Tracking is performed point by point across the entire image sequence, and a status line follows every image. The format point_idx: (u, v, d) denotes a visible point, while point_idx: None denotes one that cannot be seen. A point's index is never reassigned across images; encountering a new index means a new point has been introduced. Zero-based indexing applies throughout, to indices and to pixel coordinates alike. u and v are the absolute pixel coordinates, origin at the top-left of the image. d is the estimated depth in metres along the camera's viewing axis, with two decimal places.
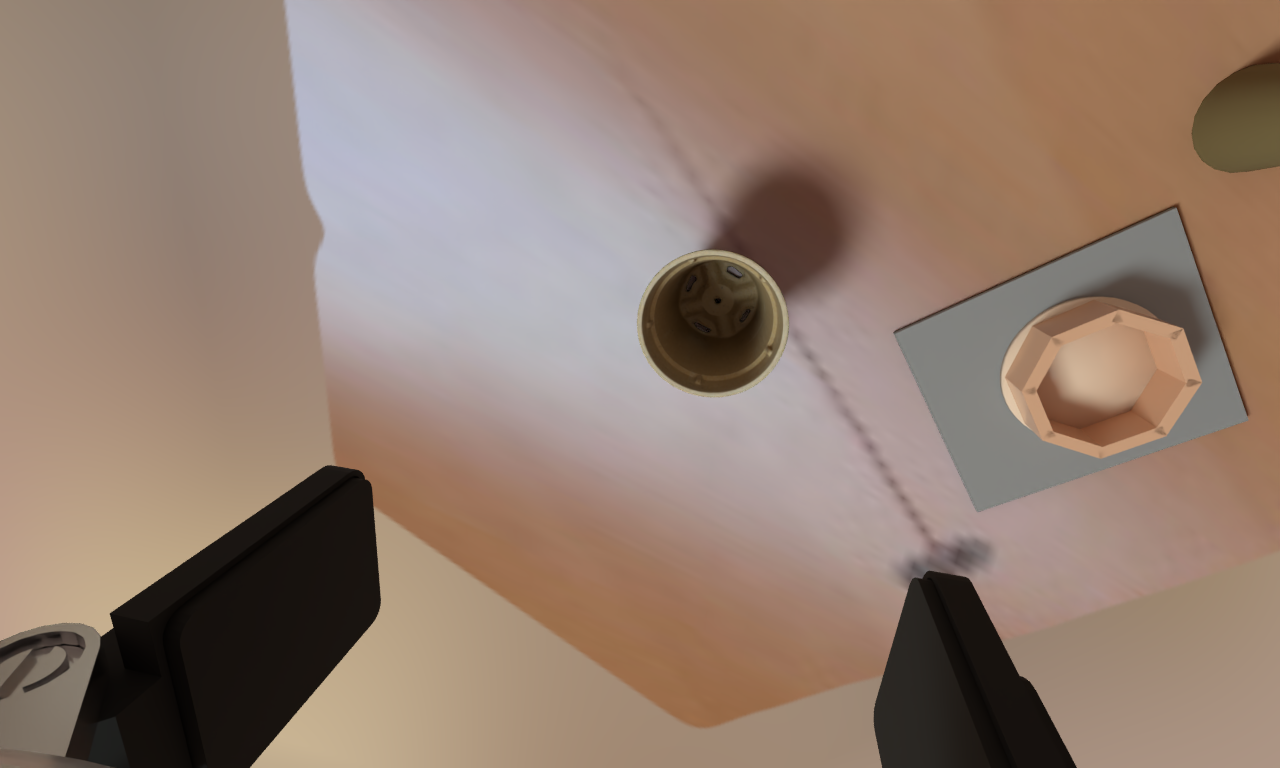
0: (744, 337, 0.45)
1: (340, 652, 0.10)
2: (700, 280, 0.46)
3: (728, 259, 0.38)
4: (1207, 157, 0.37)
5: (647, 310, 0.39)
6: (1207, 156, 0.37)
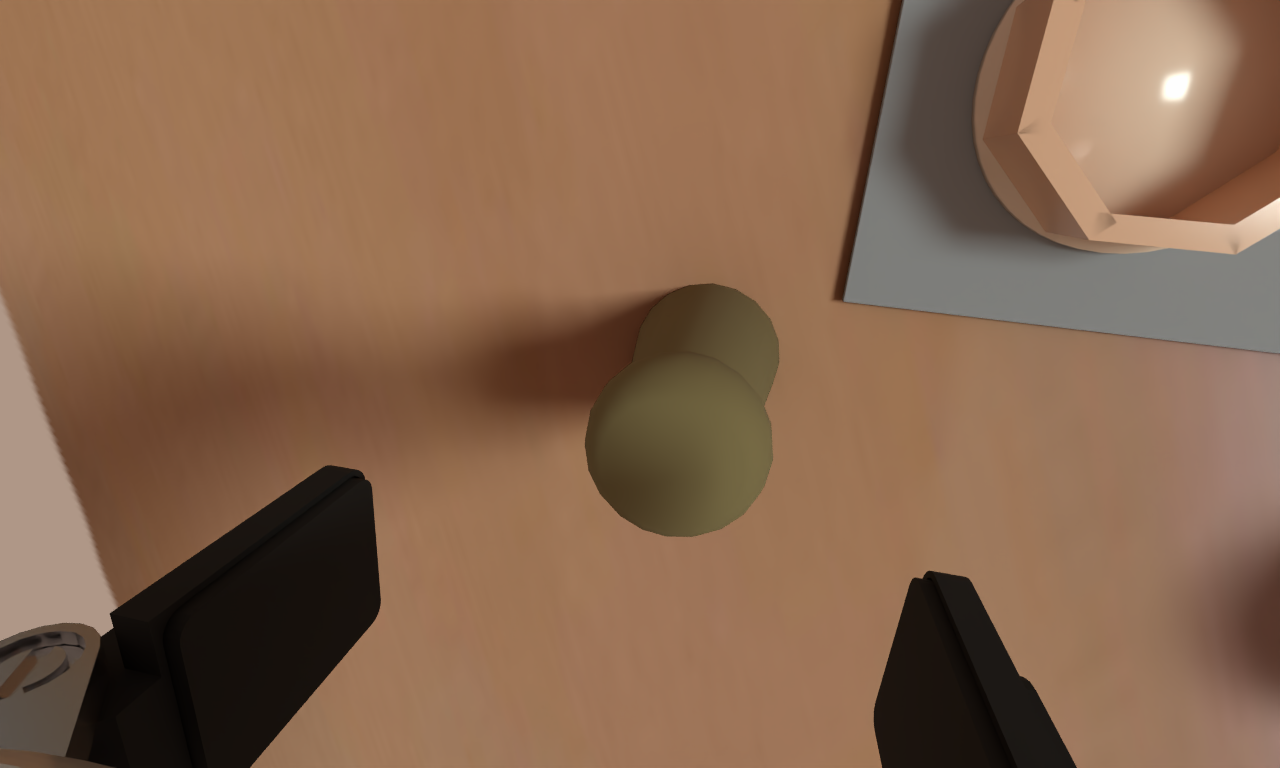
0: None
1: (340, 652, 0.10)
2: None
3: None
4: (777, 348, 0.24)
5: None
6: (777, 348, 0.24)
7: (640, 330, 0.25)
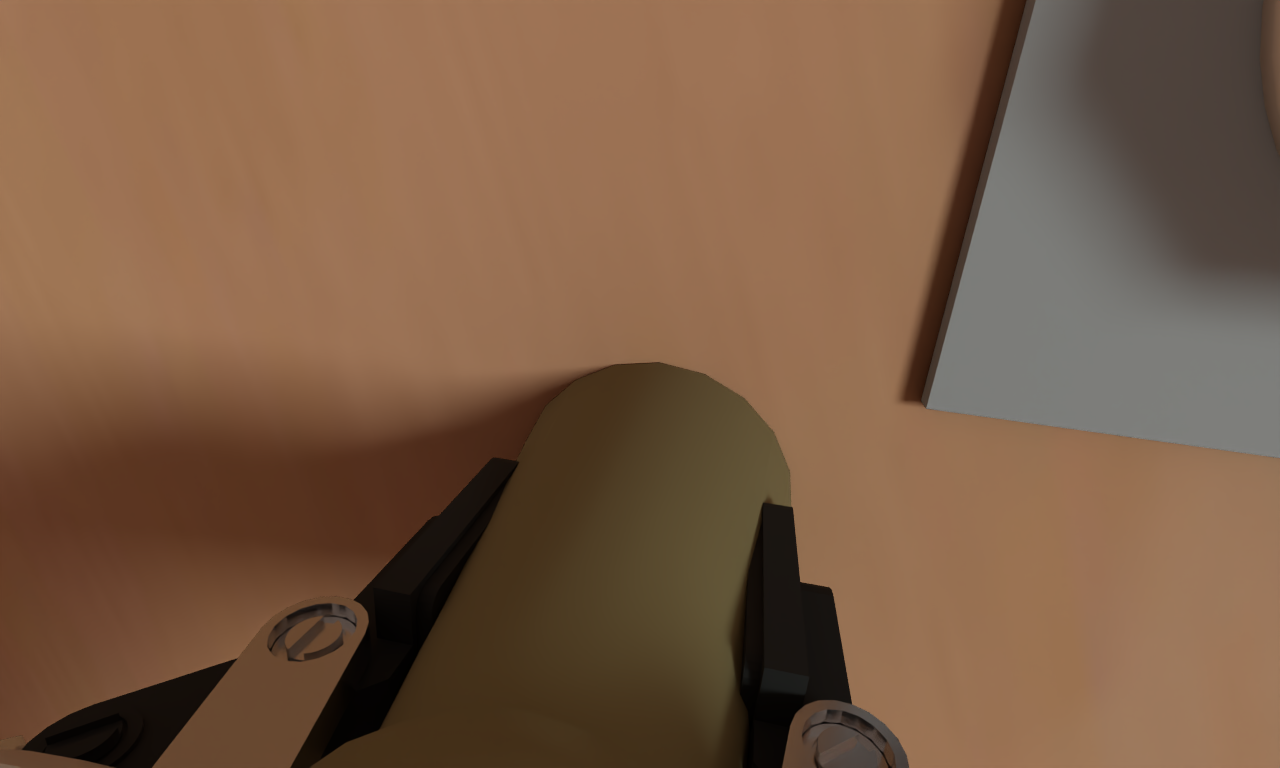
0: None
1: None
2: None
3: None
4: (788, 491, 0.12)
5: None
6: (788, 493, 0.12)
7: (520, 453, 0.13)
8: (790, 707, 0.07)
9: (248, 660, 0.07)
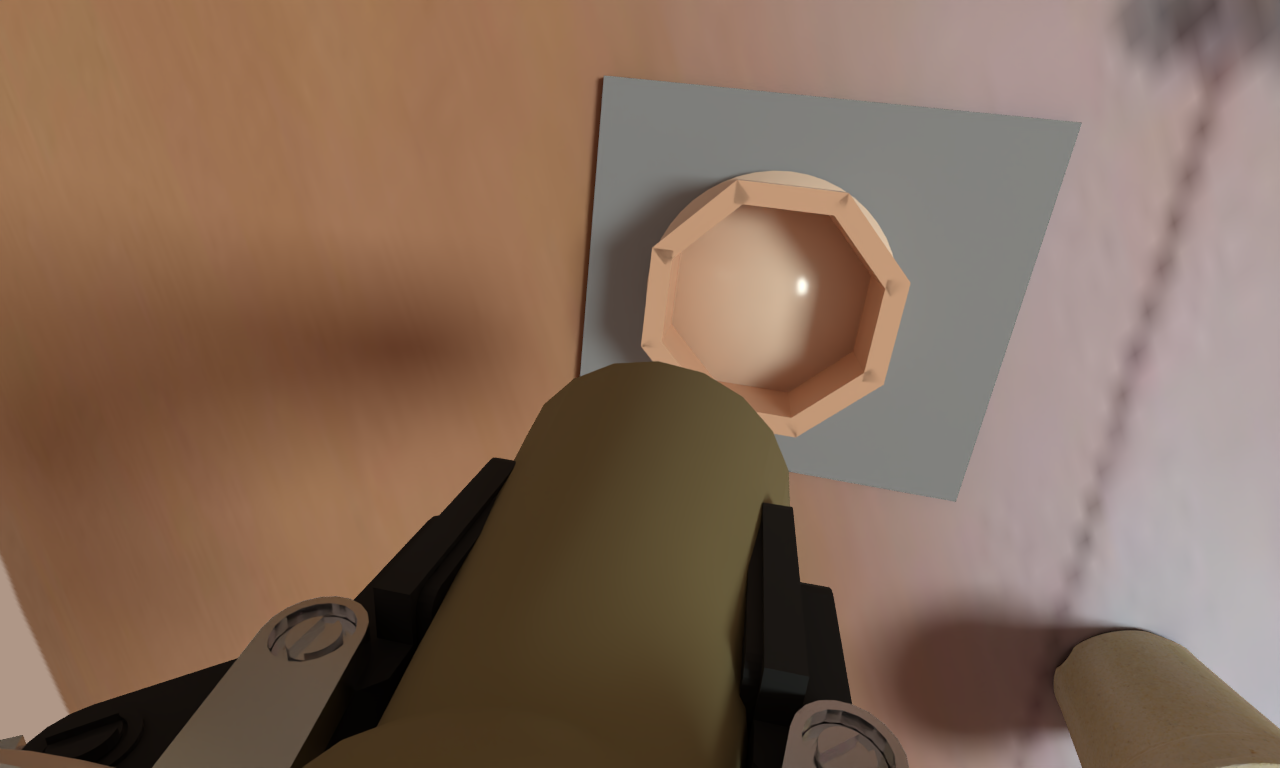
0: None
1: None
2: None
3: None
4: (787, 490, 0.12)
5: None
6: (786, 491, 0.12)
7: None
8: (790, 707, 0.07)
9: (248, 660, 0.07)
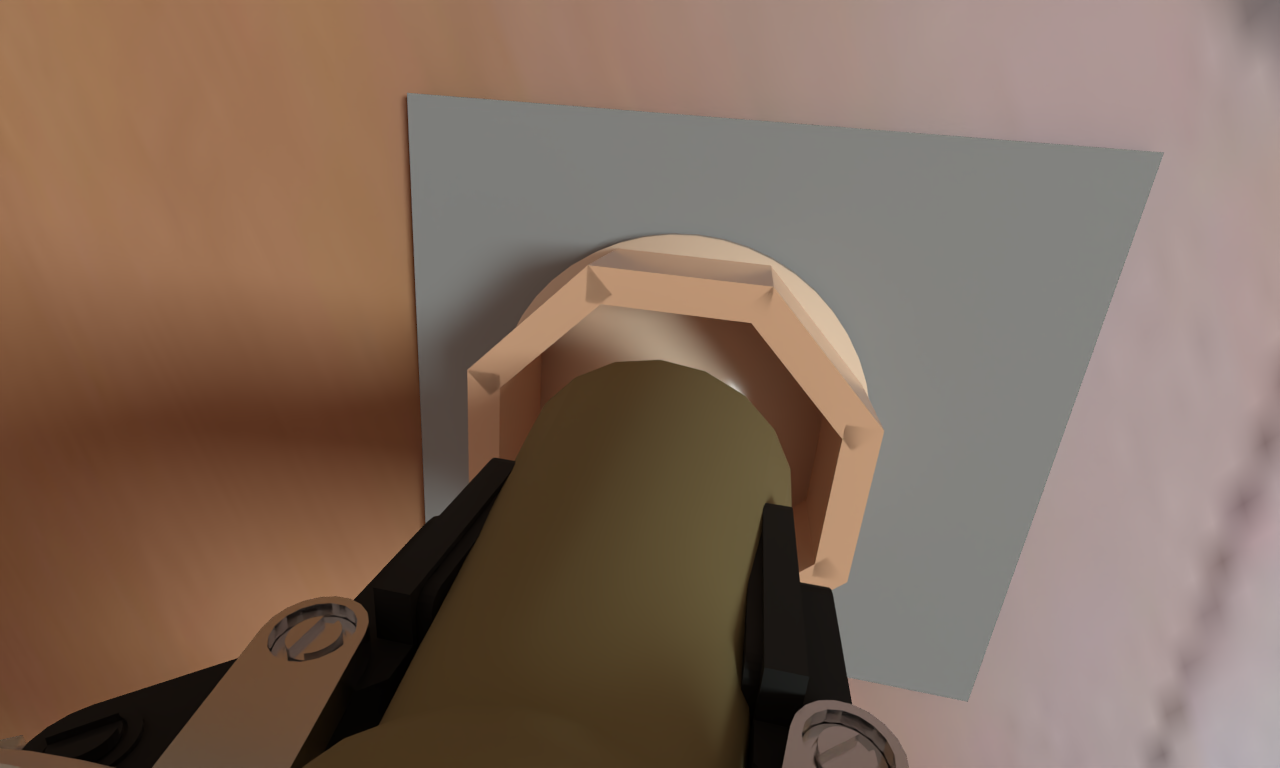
0: None
1: None
2: None
3: None
4: (788, 489, 0.12)
5: None
6: (788, 489, 0.12)
7: None
8: (790, 707, 0.07)
9: (248, 660, 0.07)
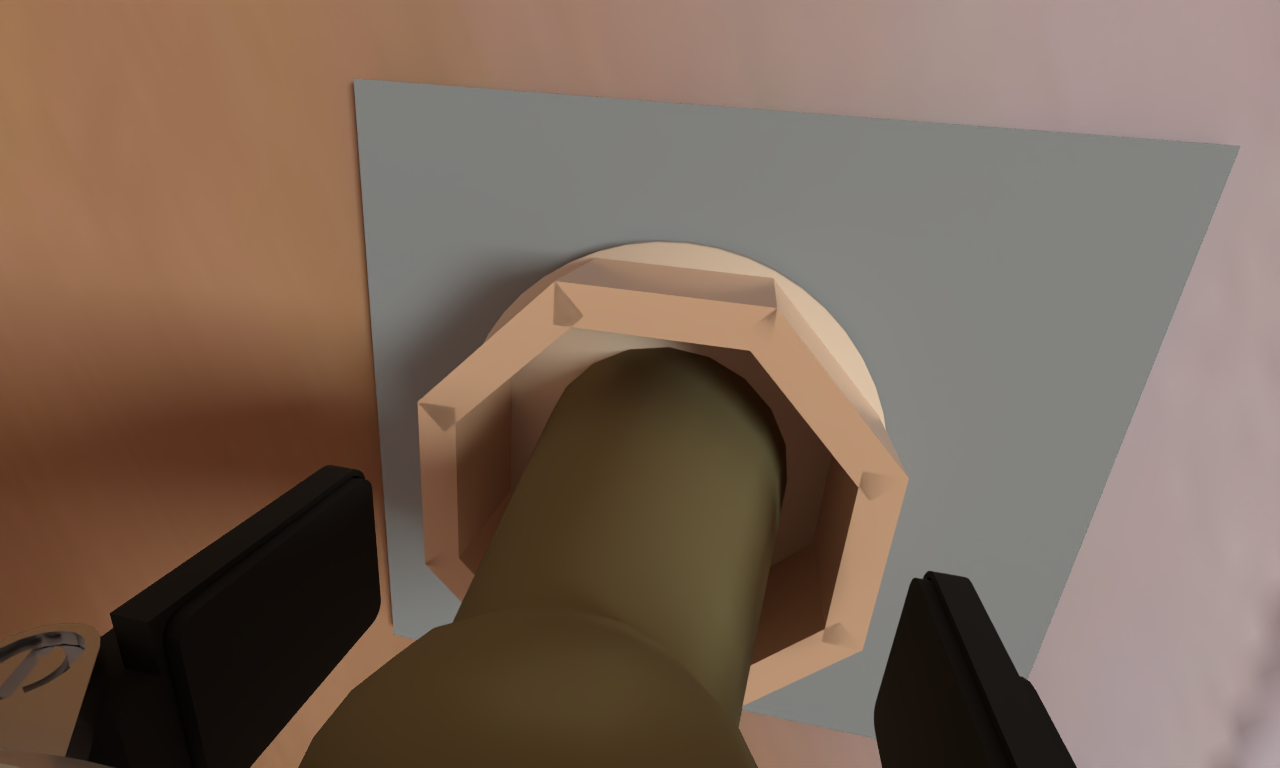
0: None
1: (340, 652, 0.10)
2: None
3: None
4: (784, 461, 0.14)
5: None
6: (784, 462, 0.14)
7: (544, 428, 0.14)
8: None
9: None
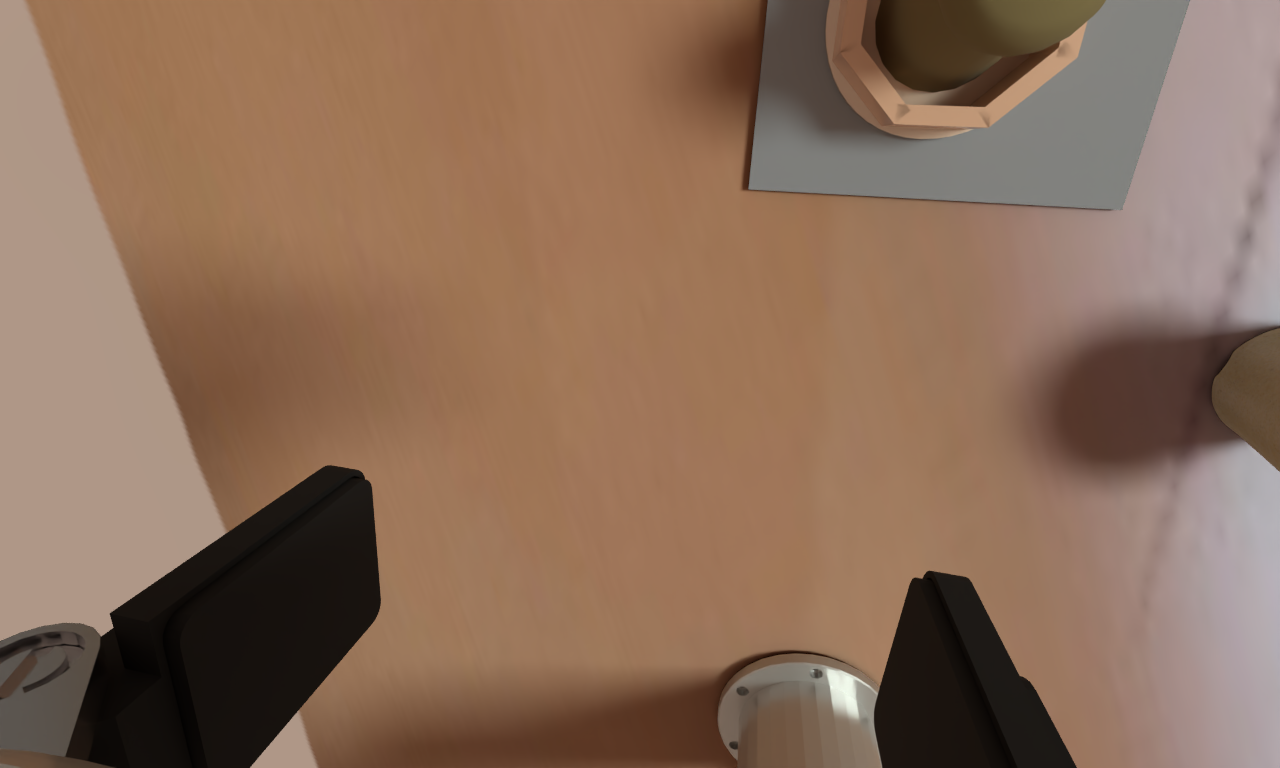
0: None
1: (340, 652, 0.10)
2: None
3: None
4: None
5: None
6: None
7: None
8: None
9: None
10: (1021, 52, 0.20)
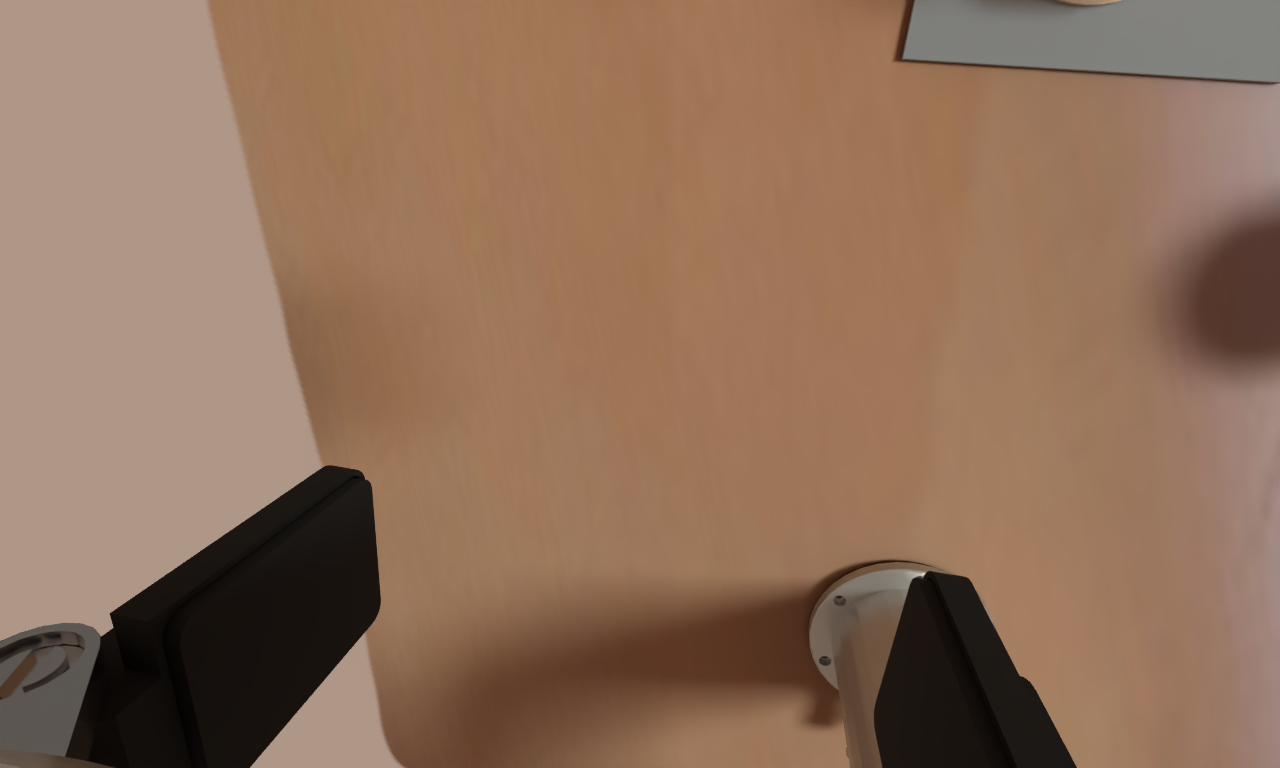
0: None
1: (340, 652, 0.10)
2: None
3: None
4: None
5: None
6: None
7: None
8: None
9: None
10: None
